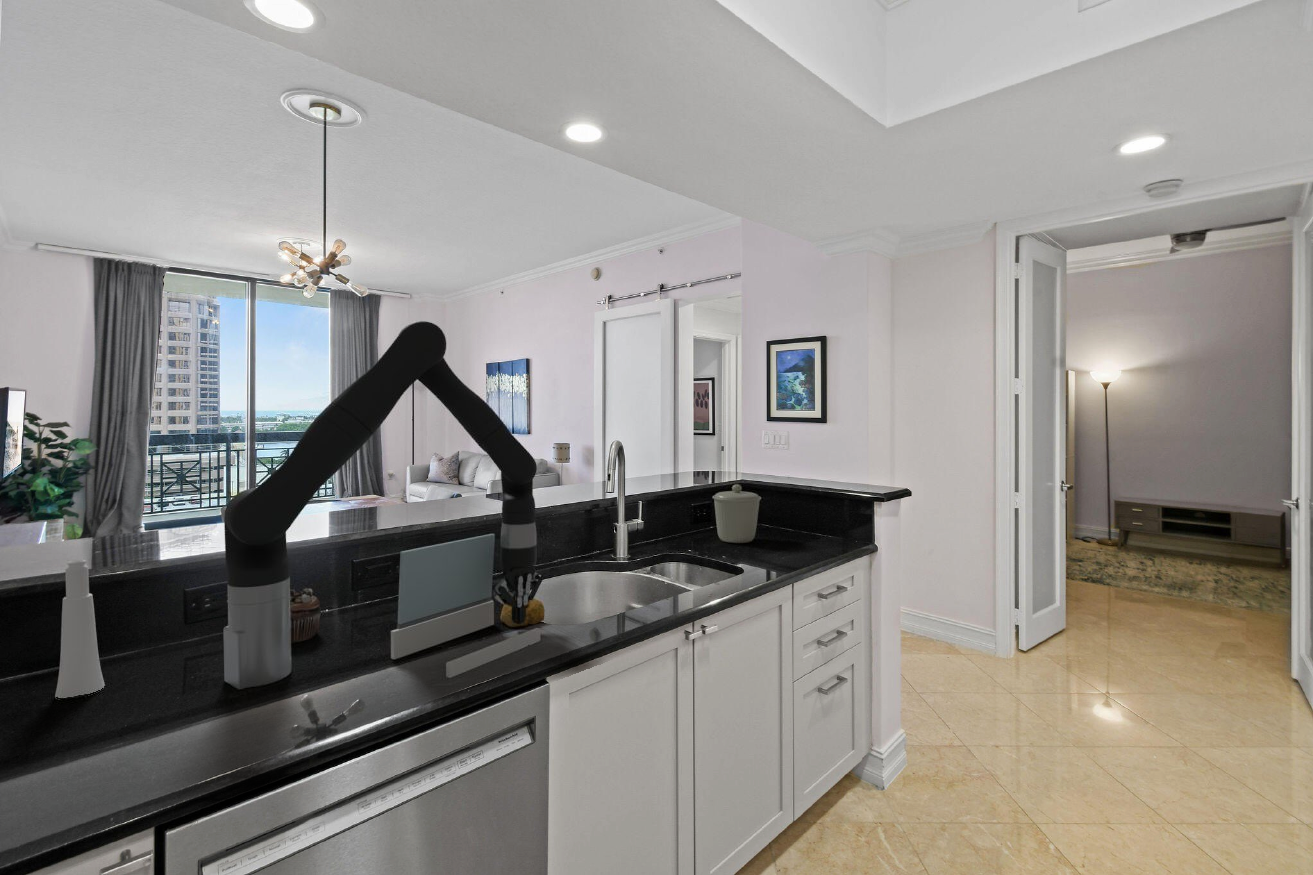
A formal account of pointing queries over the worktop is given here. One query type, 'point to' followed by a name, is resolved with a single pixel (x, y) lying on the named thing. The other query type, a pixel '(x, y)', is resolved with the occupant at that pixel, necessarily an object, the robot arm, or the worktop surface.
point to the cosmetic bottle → (78, 637)
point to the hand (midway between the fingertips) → (518, 622)
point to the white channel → (454, 627)
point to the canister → (736, 515)
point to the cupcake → (303, 614)
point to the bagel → (532, 614)
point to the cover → (444, 579)
